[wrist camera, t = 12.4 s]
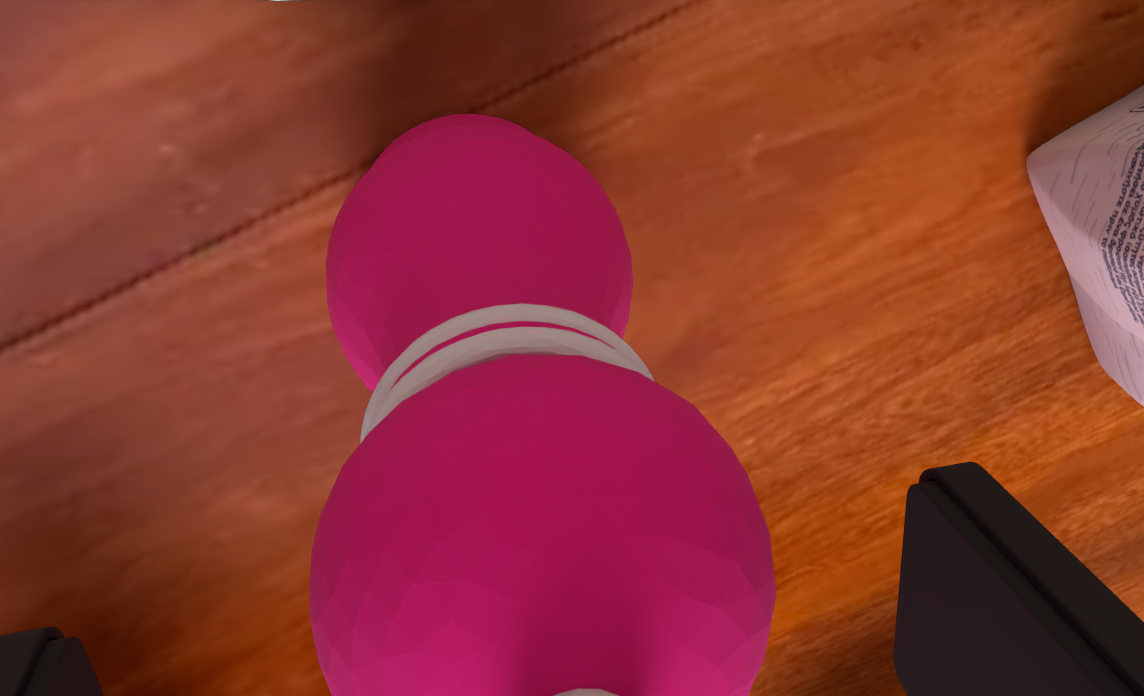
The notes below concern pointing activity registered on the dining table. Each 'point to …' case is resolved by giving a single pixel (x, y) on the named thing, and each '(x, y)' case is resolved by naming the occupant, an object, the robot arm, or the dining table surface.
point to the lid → (284, 0)
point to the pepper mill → (519, 449)
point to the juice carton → (1101, 228)
